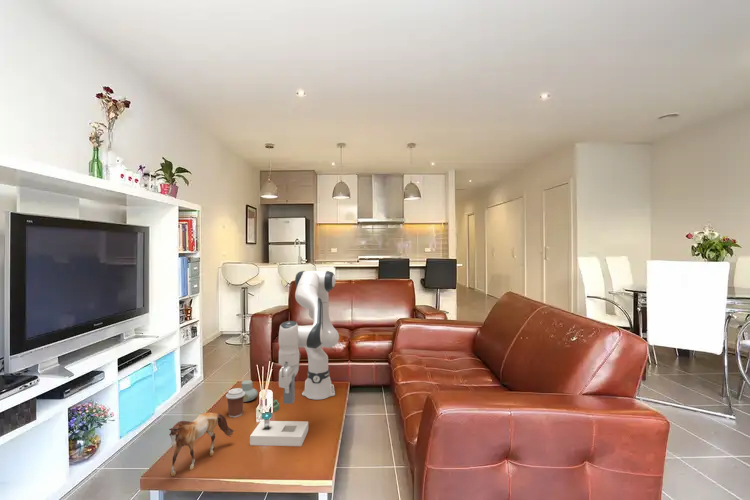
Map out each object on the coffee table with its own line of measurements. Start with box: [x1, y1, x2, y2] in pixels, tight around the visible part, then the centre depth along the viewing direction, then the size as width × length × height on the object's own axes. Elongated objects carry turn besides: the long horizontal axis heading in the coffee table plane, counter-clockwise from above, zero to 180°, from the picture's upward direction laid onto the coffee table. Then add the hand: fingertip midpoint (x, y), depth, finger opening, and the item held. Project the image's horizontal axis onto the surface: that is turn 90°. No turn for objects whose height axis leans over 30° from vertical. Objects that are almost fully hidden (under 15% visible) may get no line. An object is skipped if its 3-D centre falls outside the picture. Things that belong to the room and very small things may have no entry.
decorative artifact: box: [272, 397, 280, 413], centre depth 199 cm, size 10×7×10 cm
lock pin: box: [261, 412, 273, 430], centre depth 170 cm, size 4×4×6 cm
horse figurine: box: [169, 412, 236, 477], centre depth 152 cm, size 31×8×21 cm, turn 158°
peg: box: [282, 373, 296, 405], centre depth 169 cm, size 4×4×12 cm
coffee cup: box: [225, 387, 245, 418], centre depth 193 cm, size 9×9×12 cm
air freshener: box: [240, 379, 258, 403], centre depth 211 cm, size 11×8×10 cm
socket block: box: [249, 420, 309, 447], centre depth 170 cm, size 14×22×4 cm, turn 88°
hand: (289, 390), depth 169 cm, fingers closed on peg, 4 cm apart
